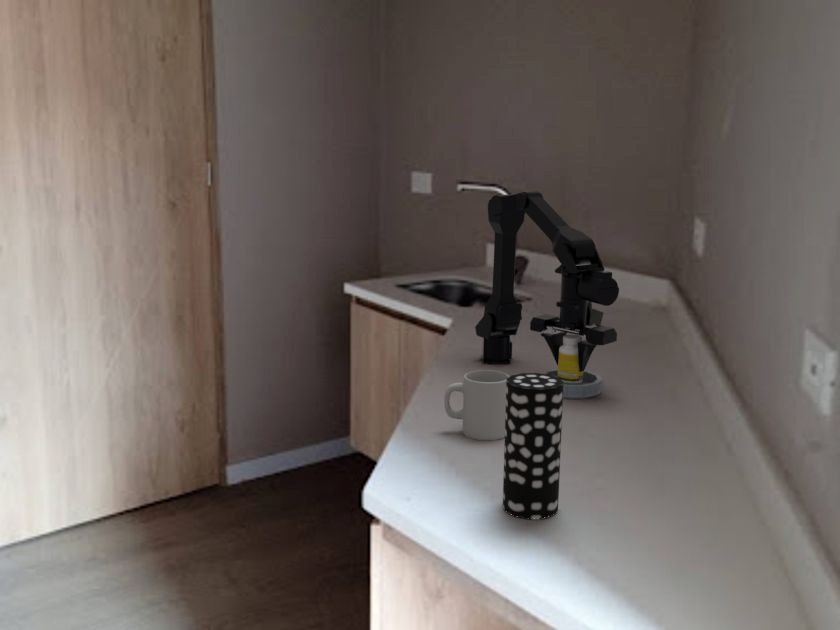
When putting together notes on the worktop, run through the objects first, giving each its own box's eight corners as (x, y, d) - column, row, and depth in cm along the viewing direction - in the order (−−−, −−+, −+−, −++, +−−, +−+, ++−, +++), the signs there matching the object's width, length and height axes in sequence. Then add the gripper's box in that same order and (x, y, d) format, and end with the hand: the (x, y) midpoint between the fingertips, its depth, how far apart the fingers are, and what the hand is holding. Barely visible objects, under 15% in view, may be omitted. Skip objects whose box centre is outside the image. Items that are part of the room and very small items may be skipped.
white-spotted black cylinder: (498, 497, 143) (501, 373, 138) (551, 495, 143) (556, 372, 139) (507, 520, 135) (512, 389, 130) (563, 518, 135) (569, 388, 131)
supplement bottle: (582, 385, 194) (584, 340, 192) (556, 383, 195) (558, 339, 193) (583, 378, 199) (585, 334, 197) (558, 376, 201) (560, 332, 198)
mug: (508, 425, 175) (509, 370, 173) (508, 441, 167) (510, 383, 164) (445, 423, 176) (445, 368, 173) (442, 439, 168) (443, 381, 165)
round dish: (543, 398, 191) (544, 386, 191) (535, 380, 204) (535, 368, 204) (606, 399, 191) (607, 386, 191) (594, 380, 204) (595, 368, 204)
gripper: (633, 298, 193) (629, 370, 196) (560, 285, 205) (557, 353, 209) (603, 306, 185) (599, 380, 188) (529, 292, 198) (527, 362, 201)
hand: (570, 368), depth 197 cm, fingers open, 5 cm apart
